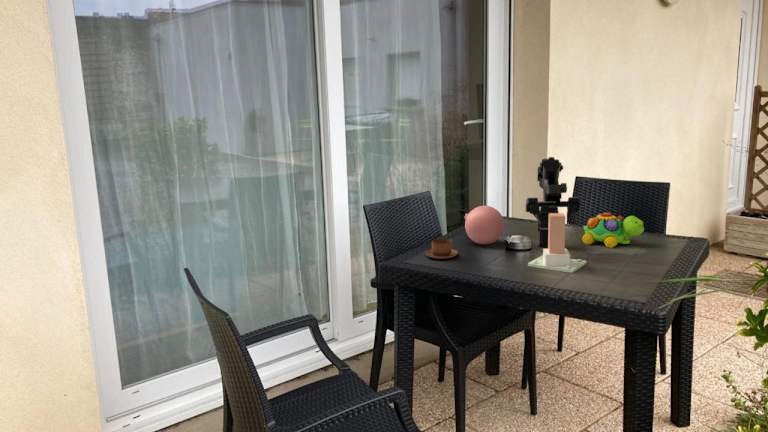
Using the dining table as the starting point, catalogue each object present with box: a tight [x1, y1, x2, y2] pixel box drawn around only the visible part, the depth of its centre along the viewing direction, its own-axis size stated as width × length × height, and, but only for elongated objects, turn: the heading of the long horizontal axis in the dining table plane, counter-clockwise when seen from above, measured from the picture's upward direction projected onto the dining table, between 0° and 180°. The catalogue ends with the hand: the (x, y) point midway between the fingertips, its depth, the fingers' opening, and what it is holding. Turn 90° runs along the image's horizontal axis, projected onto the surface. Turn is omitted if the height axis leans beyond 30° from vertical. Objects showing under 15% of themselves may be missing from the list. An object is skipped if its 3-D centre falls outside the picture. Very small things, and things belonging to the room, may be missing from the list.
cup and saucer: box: [425, 238, 459, 260], centre depth 235 cm, size 12×12×6 cm
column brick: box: [547, 212, 566, 254], centre depth 217 cm, size 5×5×13 cm
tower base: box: [527, 248, 588, 274], centre depth 220 cm, size 16×13×5 cm
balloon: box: [463, 205, 505, 246], centre depth 253 cm, size 15×20×15 cm
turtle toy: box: [581, 212, 645, 249], centre depth 246 cm, size 17×23×12 cm
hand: (554, 224), depth 223 cm, fingers open, 9 cm apart
